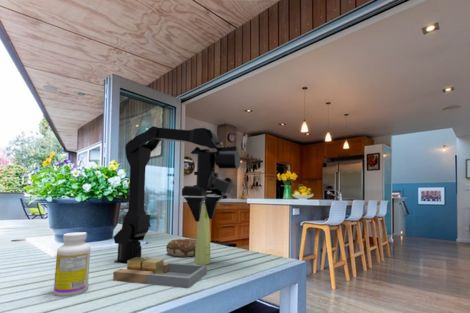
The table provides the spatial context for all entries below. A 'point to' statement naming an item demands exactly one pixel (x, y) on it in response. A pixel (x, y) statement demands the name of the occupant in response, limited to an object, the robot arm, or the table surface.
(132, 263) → the brass block
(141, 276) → the slot board
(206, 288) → the table surface
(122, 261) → the robot arm
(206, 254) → the tube
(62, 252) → the supplement bottle
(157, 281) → the tray
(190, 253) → the donut
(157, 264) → the brass block
